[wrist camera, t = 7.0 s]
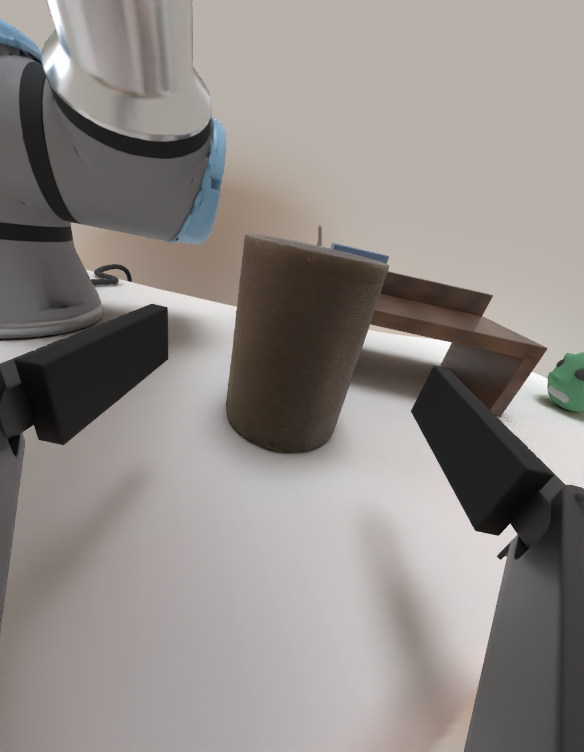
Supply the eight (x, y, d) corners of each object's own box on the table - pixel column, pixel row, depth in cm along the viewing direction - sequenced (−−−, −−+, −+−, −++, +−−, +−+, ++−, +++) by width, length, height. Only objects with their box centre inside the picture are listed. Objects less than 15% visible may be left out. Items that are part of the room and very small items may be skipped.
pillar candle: (275, 473, 18) (336, 223, 11) (204, 399, 24) (215, 201, 17) (355, 426, 25) (425, 249, 18) (285, 377, 30) (317, 227, 23)
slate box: (323, 291, 31) (334, 244, 29) (322, 283, 37) (331, 242, 34) (373, 302, 32) (389, 256, 29) (365, 292, 37) (377, 253, 34)
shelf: (288, 370, 32) (311, 262, 26) (296, 333, 44) (313, 254, 39) (500, 416, 32) (567, 320, 27) (449, 366, 45) (488, 293, 39)
